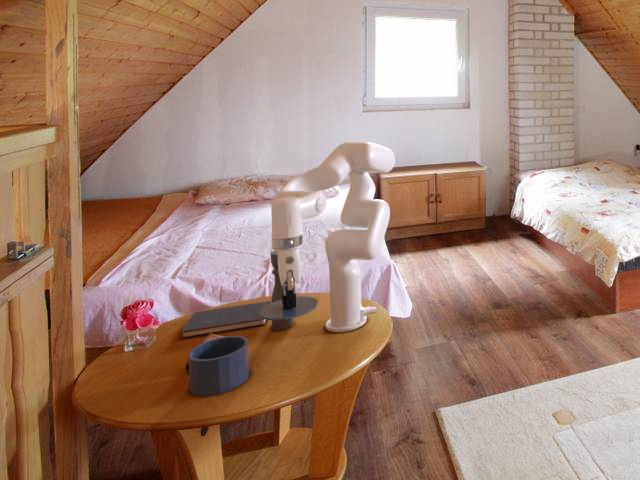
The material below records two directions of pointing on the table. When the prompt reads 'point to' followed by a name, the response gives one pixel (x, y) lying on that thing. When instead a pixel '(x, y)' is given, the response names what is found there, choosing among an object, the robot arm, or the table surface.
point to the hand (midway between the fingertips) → (289, 305)
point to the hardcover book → (224, 319)
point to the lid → (278, 313)
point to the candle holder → (278, 295)
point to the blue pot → (218, 365)
